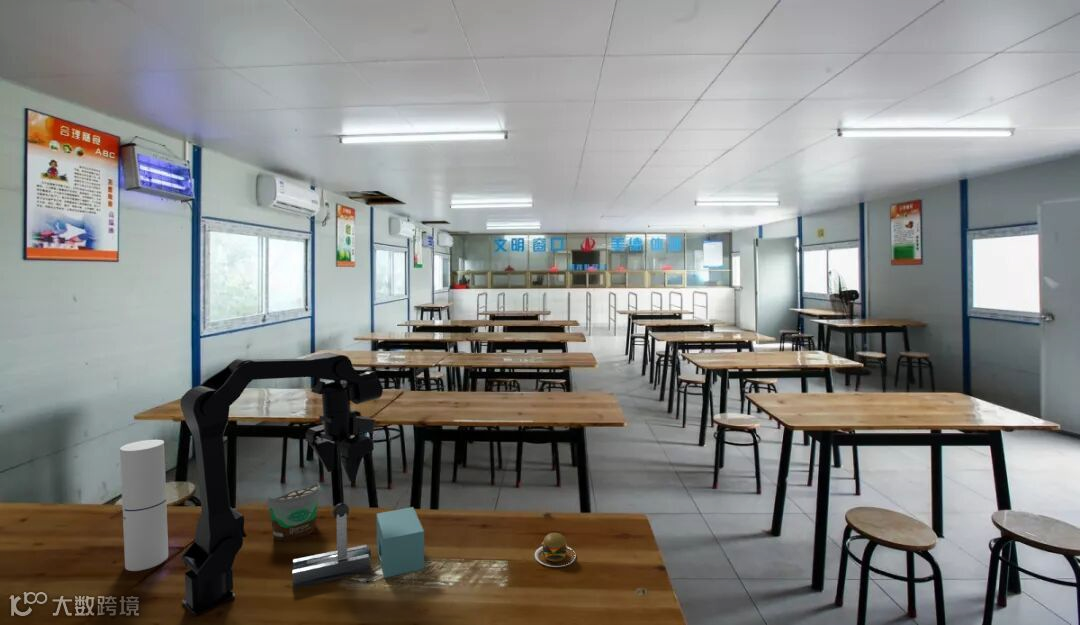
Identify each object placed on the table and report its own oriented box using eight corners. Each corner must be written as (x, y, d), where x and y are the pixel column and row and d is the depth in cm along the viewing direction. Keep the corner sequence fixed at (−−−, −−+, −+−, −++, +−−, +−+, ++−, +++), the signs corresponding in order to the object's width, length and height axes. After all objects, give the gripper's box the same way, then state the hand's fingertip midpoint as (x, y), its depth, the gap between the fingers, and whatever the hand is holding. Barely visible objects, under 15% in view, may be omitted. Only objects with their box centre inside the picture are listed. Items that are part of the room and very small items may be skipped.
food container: (279, 549, 109) (278, 505, 108) (267, 540, 113) (265, 497, 112) (332, 527, 119) (331, 487, 118) (318, 520, 122) (318, 480, 122)
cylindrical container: (144, 572, 100) (139, 452, 98) (115, 568, 101) (110, 449, 100) (176, 554, 107) (172, 440, 105) (149, 550, 108) (145, 438, 107)
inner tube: (306, 576, 97) (305, 512, 96) (307, 567, 99) (305, 506, 99) (371, 562, 102) (370, 501, 101) (369, 554, 105) (368, 495, 104)
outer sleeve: (292, 589, 95) (292, 573, 95) (293, 574, 99) (293, 559, 99) (369, 571, 101) (369, 556, 100) (366, 558, 105) (366, 544, 105)
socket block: (384, 578, 99) (383, 539, 98) (376, 548, 109) (376, 513, 109) (424, 568, 102) (424, 531, 101) (413, 540, 113) (413, 507, 112)
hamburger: (574, 580, 99) (575, 554, 99) (519, 569, 103) (519, 544, 103) (588, 550, 111) (588, 526, 110) (537, 541, 114) (538, 518, 114)
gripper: (392, 406, 111) (396, 473, 112) (346, 395, 122) (350, 455, 123) (347, 420, 102) (351, 492, 103) (302, 405, 113) (307, 471, 115)
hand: (341, 476), depth 111 cm, fingers open, 9 cm apart
